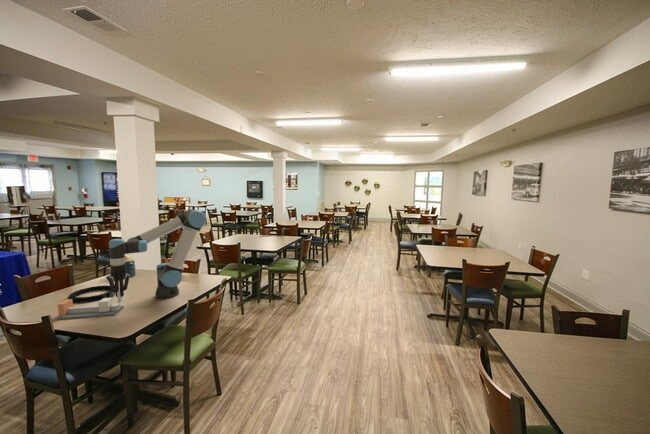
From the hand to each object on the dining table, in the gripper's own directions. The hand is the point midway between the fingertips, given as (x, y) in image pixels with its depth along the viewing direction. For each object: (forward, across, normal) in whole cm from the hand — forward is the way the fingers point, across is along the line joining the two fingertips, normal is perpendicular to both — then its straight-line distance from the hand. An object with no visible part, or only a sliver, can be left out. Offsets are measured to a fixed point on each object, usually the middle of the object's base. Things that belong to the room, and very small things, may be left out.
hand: (120, 301), depth 181 cm
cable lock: (+7, +31, -33) cm, 46 cm away
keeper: (+5, +8, 0) cm, 9 cm away
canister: (+6, +30, -80) cm, 86 cm away
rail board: (+6, +16, 0) cm, 17 cm away
